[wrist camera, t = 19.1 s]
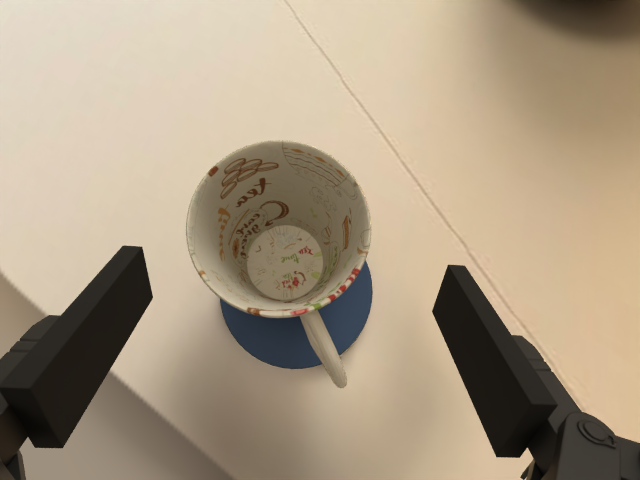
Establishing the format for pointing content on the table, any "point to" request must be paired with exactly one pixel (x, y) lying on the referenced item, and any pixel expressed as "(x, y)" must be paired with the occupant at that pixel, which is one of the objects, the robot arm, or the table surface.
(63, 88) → the table surface
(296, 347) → the coaster
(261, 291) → the mug
